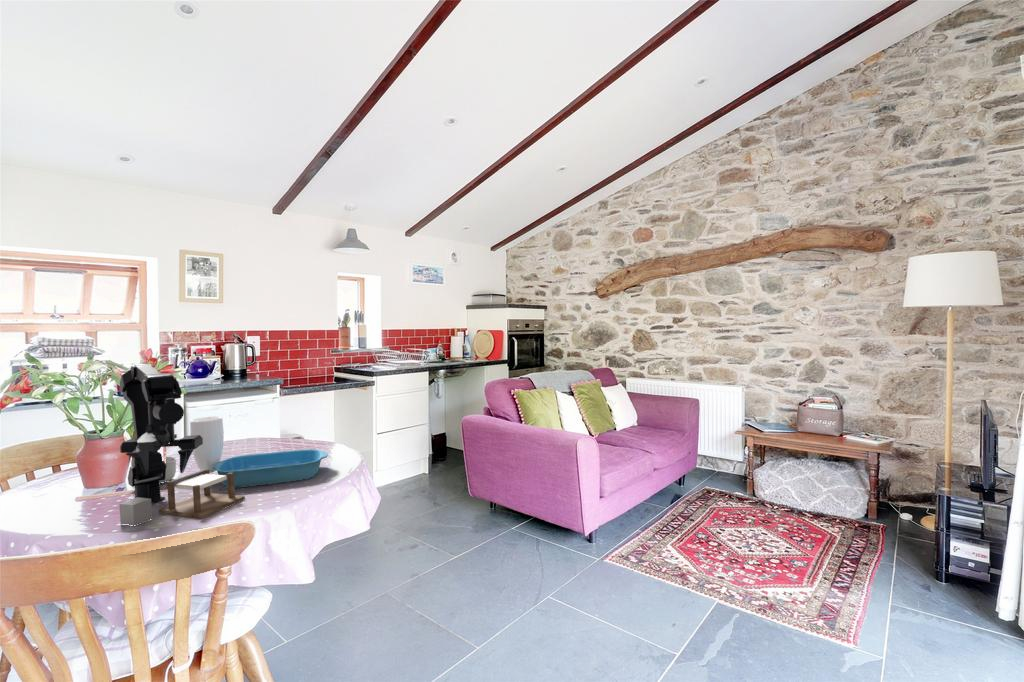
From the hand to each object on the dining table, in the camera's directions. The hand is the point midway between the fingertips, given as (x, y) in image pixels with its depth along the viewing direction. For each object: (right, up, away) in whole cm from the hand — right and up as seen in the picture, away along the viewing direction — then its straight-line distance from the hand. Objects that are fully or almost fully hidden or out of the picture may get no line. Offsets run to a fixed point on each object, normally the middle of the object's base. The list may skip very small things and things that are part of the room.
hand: (164, 473), depth 141 cm
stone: (-6, -13, -2) cm, 14 cm away
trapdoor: (+6, -5, +8) cm, 11 cm away
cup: (-8, -12, +35) cm, 38 cm away
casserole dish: (+14, -11, +35) cm, 40 cm away
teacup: (-26, -12, +32) cm, 43 cm away
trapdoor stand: (+6, -12, +9) cm, 16 cm away
